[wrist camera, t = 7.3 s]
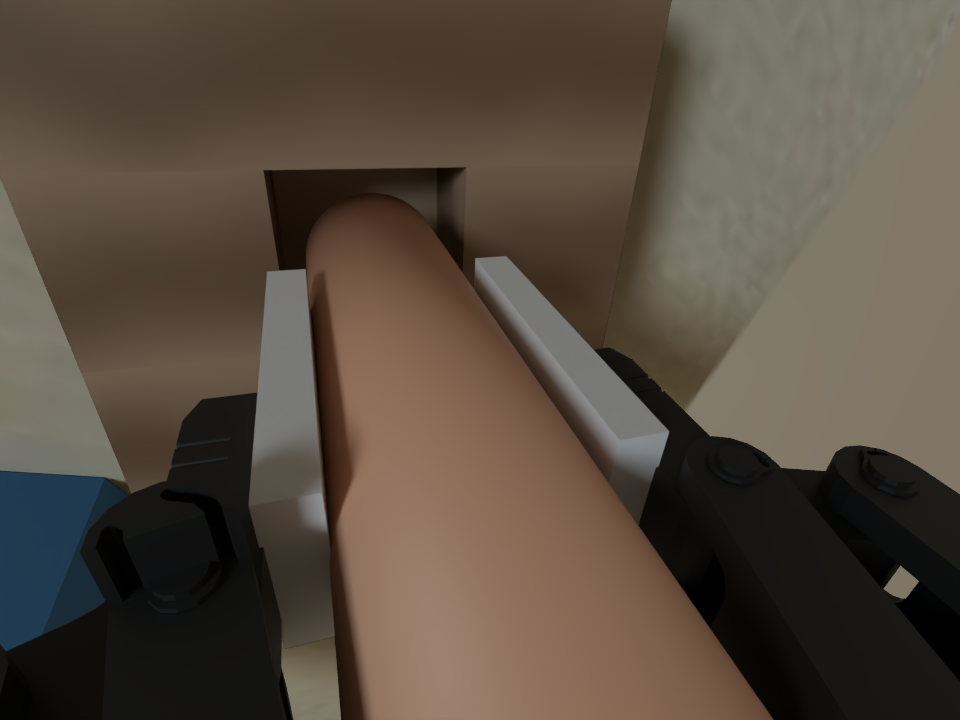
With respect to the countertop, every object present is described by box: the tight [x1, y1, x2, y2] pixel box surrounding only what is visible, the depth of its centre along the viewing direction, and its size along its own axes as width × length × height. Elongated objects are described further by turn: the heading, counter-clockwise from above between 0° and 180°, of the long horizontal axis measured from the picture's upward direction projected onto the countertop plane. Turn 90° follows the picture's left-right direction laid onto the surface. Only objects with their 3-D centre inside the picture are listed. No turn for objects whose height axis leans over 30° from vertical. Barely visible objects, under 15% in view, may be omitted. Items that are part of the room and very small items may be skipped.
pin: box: [305, 193, 773, 720], centre depth 10 cm, size 4×4×14 cm
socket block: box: [0, 0, 672, 494], centre depth 17 cm, size 16×16×5 cm
